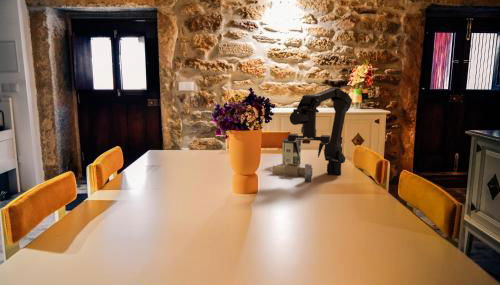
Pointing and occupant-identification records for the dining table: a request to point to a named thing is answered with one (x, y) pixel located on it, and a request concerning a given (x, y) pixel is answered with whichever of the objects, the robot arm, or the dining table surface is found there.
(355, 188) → the dining table surface
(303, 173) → the wooden box with arms
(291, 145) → the coffee can
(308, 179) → the pin
